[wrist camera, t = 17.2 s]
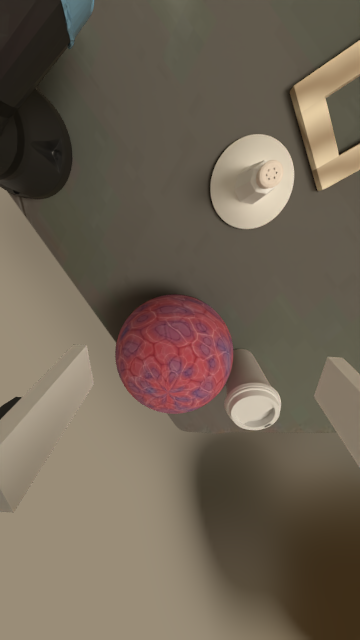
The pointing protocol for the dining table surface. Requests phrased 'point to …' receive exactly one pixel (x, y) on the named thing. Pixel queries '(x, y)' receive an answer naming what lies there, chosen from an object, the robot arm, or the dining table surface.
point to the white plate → (237, 161)
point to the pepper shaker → (258, 180)
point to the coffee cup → (250, 394)
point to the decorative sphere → (174, 353)
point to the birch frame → (326, 118)
